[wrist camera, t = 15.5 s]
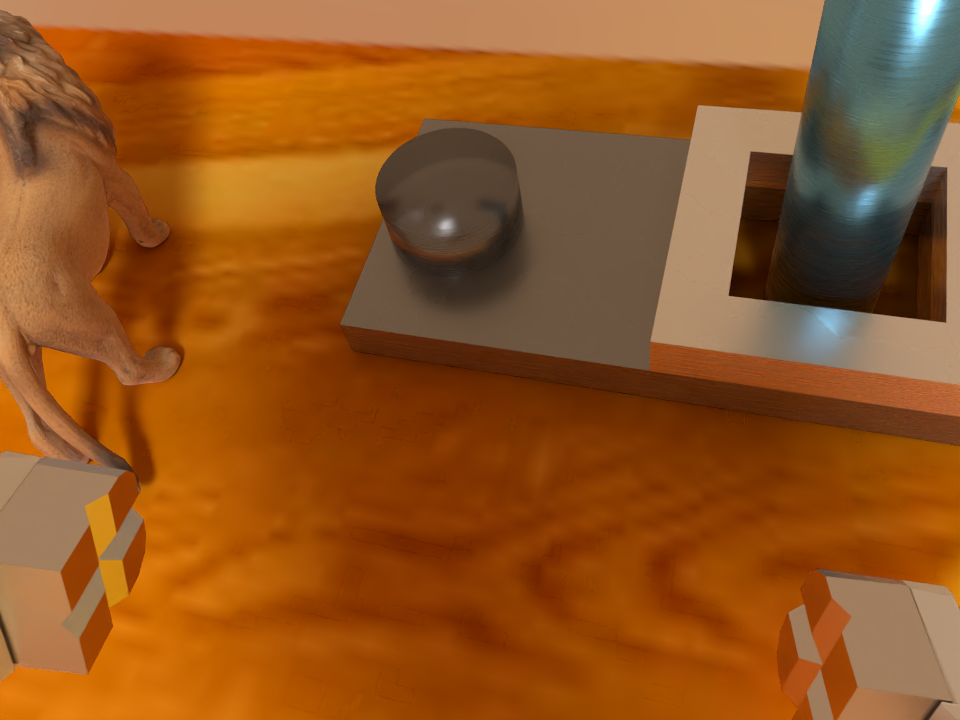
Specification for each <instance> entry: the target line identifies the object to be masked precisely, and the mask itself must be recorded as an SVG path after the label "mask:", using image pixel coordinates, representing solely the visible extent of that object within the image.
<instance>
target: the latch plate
mask: <svg viewBox="0 0 960 720" xmlns="http://www.w3.org/2000/svg"><path fill="white" fill-rule="evenodd" d="M801 113H802V112H789V111H774V110H760V109H746V108H731V107H717V106H703V105H698V107H697V112H696V117H695V122H694V127H693V132H692V137H691V140H686V139H674V138H661V137H649V136H636V135H624V134H611V133H599V132H586V131H574V130H561V129H549V128H536V127H524V126H511V125H498V124H486V123H473V122H461V121H448V120H436V119H424V121H423V124H422V126H421V128H420V131H419V133H418V136H417V137H415V138H413V139H411V140H410V141H408V142H406V143H405V144H403V145H402V146H400V147H399V148H398V149H397V150H396V151H394V152H393V153H392V154H391V155H390V157H389V158H388V159H387V160H386V162H385V163H384V164H383V166H382V168H381V170H380V172H379V174H378V177H377V181H376V199H377V202H378V205H379V208H380V210H381V213H382V216H383V221H382V223H381V226H380V228H379V231H378V233H377V236H376V238H375V241H374V243H373V245H372V248H371V250H370V253H369V255H368V258H367V260H366V262H365V265H364V267H363V270H362V272H361V275H360V277H359V280H358V282H357V284H356V287H355V289H354V292H353V294H352V297H351V299H350V301H349V304H348V306H347V309H346V311H345V314H344V316H343V318H342V321H341V323H340V326H341V328H342V330H343V332H344V334H345V336H346V338H347V340H348V342H349V344H350V346H351V348H352V350H353V351H358V352H364V353H371V354H377V355H384V356H390V357H396V358H403V359H409V360H416V361H422V362H428V363H435V364H441V365H448V366H454V367H460V368H467V369H473V370H479V371H486V372H492V373H499V374H505V375H511V376H518V377H524V378H531V379H537V380H543V381H550V382H556V383H563V384H569V385H575V386H582V387H588V388H595V389H601V390H607V391H614V392H620V393H627V394H633V395H639V396H646V397H652V398H658V399H665V400H671V401H678V402H684V403H690V404H697V405H703V406H710V407H716V408H722V409H729V410H735V411H742V412H748V413H754V414H761V415H767V416H774V417H780V418H786V419H793V420H799V421H806V422H812V423H818V424H825V425H831V426H838V427H844V428H850V429H857V430H863V431H869V432H876V433H882V434H889V435H895V436H901V437H908V438H914V439H921V440H927V441H933V442H940V443H946V444H953V445H959V446H960V123H948V124H947V127H946V129H945V132H944V134H943V137H942V139H941V142H940V144H939V147H938V150H937V152H936V155H935V157H934V160H933V162H932V165H931V167H930V170H929V172H928V175H927V177H926V180H925V182H924V185H923V187H922V190H921V193H920V195H919V198H918V200H917V203H916V205H915V208H914V210H913V213H912V215H911V218H910V220H909V223H908V225H907V228H906V230H905V233H904V234H908V235H918V236H919V251H918V290H917V319H911V318H903V317H895V316H887V315H879V314H871V313H863V312H855V311H847V310H839V309H831V308H823V307H815V306H806V305H798V304H790V303H782V302H774V301H766V300H758V299H750V298H742V297H734V296H729V290H730V283H731V277H732V270H733V264H734V257H735V251H736V244H737V238H738V231H739V225H740V218H750V219H760V220H770V221H779V220H780V215H781V210H782V205H783V200H784V195H785V191H786V186H787V181H788V176H789V171H790V166H791V162H792V157H793V152H794V147H795V142H796V137H797V133H798V128H799V123H800V118H801Z"/></svg>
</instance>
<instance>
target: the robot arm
mask: <svg viewBox="0 0 960 720" xmlns="http://www.w3.org/2000/svg"><path fill="white" fill-rule="evenodd" d="M138 495H139V490H138V486H137V481H136V477H135V474H134V473H132V472H129V471H127V470H121V469H115V468H109V467H103V466H97V465H91V464H85V463H80V462H74V461H68V460H62V459H56V458H50V457H40V456H34V455H28V454H22V453H16V452H10V451H5V452H3V453H1V454H0V681H2V680H3V679H4V678H5V677H7V676H8V675H9V674H11V673H12V672H13V671H14V670H15V668H14V666H21V667H29V668H38V669H46V670H55V671H63V672H72V673H80V674H88V673H89V671H90V670H91V668H92V666H93V664H94V662H95V660H96V658H97V656H98V654H99V652H100V650H101V648H102V646H103V645H104V643H105V641H106V639H107V637H108V635H109V633H110V631H111V629H112V627H113V624H112V619H111V615H110V610H109V608H110V607H112V606H113V605H115V604H116V603H118V602H119V601H121V600H122V599H124V598H125V597H127V596H128V595H129V594H130V592H131V590H132V588H133V586H134V584H135V582H136V580H137V577H138V575H139V572H140V568H141V565H142V561H143V557H144V554H145V542H146V531H145V525H144V519H143V518H142V517H141V516H140V515H139V514H138V513H137V512H136V511H135V510H134V509H133V508H132V505H133V504H134V502H135V500H136V498H137V496H138ZM801 593H802V597H803V601H804V604H803V605H801V606H799V607H797V608H796V609H794V610H792V611H790V612H788V614H787V617H786V619H785V621H784V623H783V626H782V628H781V630H780V636H779V643H778V650H777V660H778V673H779V678H780V683H781V689H782V691H783V692H784V693H785V694H786V695H787V696H788V698H789V699H790V700H791V701H792V702H793V703H794V705H795V706H796V707H797V708H798V709H797V711H796V713H795V714H794V716H793V718H792V720H960V609H959V607H958V605H957V602H956V600H955V598H954V596H953V594H952V593H951V592H950V591H949V590H948V589H947V588H946V587H945V586H940V585H933V584H926V583H918V582H911V581H904V580H900V581H898V580H896V579H891V578H884V577H876V576H868V575H861V574H853V573H846V572H838V571H831V570H823V569H815V570H813V571H812V572H811V573H809V574H808V575H807V577H806V579H805V581H804V583H803V585H802V587H801Z"/></svg>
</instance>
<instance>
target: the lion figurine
mask: <svg viewBox="0 0 960 720" xmlns="http://www.w3.org/2000/svg"><path fill="white" fill-rule="evenodd" d="M115 134H116V132H115V129H114V126H113V124H112V122H111V121H110V119H109V118H108V117H107V116H106V115H105V114H104V113H103V111H102V110H101V106H100V102H99V100H98V99H97V97H96V96H95V94H94V93H93V92H92V91H91V89H89V88H88V87H87V86H86V85H85V84H84V83H83V82H82V81H81V79H80V77H79V75H78V74H77V73H76V72H75V71H74V70H73V69H71V68H70V67H69V66H67V65H66V64H65V62H64V59H63V58H62V56H61V55H60V54H59V53H57V52H56V51H55V50H54V49H53V48H52V47H51V46H50V45H49V44H48V43H47V42H45V41H44V39H43V37H42V36H41V34H40V33H39V32H37V31H36V30H35V29H34V28H33V27H32V25H31V24H30V22H29V21H28V20H27V19H25V18H23V17H21V16H13V15H11V14H10V13H8V12H6V11H2V10H0V379H1V380H2V381H3V383H4V384H5V385H6V387H7V388H8V389H9V391H10V392H11V394H12V395H13V397H14V399H15V400H16V402H17V403H18V405H19V407H20V409H21V410H22V412H23V414H24V417H25V420H26V423H27V428H28V434H29V438H30V440H31V442H32V444H33V445H34V446H35V447H36V448H37V449H38V450H40V451H41V452H42V453H43V454H44V455H46V456H47V457H50V458H56V459H62V460H68V461H74V462H80V463H85V464H87V463H88V461H89V460H90V459H92V460H93V461H95V462H96V463H98V464H99V465H101V466H103V467H109V468H115V469H121V470H127V471H129V472H132V473H134V471H133V469H132V468H131V467H130V465H129V464H128V463H127V462H126V461H125V459H123V458H122V457H120V456H118V455H117V454H115V453H113V452H112V451H110V450H109V449H108V448H106V447H105V446H103V445H102V444H101V443H99V442H98V441H97V440H95V439H94V438H93V437H92V436H90V435H89V434H88V433H87V432H85V431H84V430H83V429H82V428H81V427H80V426H79V425H78V424H77V423H76V422H75V421H74V420H73V419H72V418H71V417H70V416H69V415H68V414H67V413H66V412H65V411H64V410H63V409H62V408H61V406H60V405H59V404H58V403H57V401H56V400H55V399H54V397H53V396H52V395H51V394H50V393H49V392H48V390H47V388H46V381H45V375H44V368H43V362H42V348H41V346H42V347H48V348H51V349H55V350H59V351H62V352H68V353H71V354H75V355H79V356H82V357H87V358H91V359H95V360H99V361H102V362H104V363H105V364H107V365H108V366H109V367H110V368H111V369H112V370H113V371H114V372H115V374H116V375H117V377H118V379H119V381H120V382H121V383H122V384H124V385H137V384H144V383H154V382H161V381H164V380H167V379H169V378H170V377H171V376H172V375H173V374H174V373H175V372H176V371H177V369H178V367H179V365H180V361H181V357H180V355H179V354H178V353H177V352H176V351H175V350H174V349H173V348H171V347H162V346H160V347H156V348H153V349H151V350H149V351H147V353H146V354H145V357H144V358H143V357H141V356H140V355H139V354H138V353H137V352H136V351H135V349H134V348H133V346H132V344H131V342H130V340H129V338H128V336H127V334H126V332H125V330H124V328H123V326H122V324H121V322H120V320H119V318H118V317H117V315H116V313H115V311H114V310H113V308H112V307H111V306H110V305H109V304H108V303H107V302H105V301H104V300H103V299H102V298H101V297H100V296H99V294H98V293H97V292H96V290H95V289H94V287H93V286H92V285H91V284H90V283H91V282H92V280H93V279H94V277H95V276H96V274H98V273H99V272H100V271H101V269H102V266H103V264H104V262H105V260H106V256H107V252H108V248H109V240H110V223H109V216H108V207H107V205H109V206H110V207H111V208H113V209H114V210H115V211H116V212H117V213H118V214H119V215H120V216H121V217H122V219H123V220H124V222H125V224H126V225H127V227H128V230H129V232H130V235H131V237H132V238H134V239H135V240H136V242H138V243H139V244H140V245H141V246H145V247H155V246H158V245H159V244H160V243H162V242H163V241H164V240H165V239H166V238H167V237H168V236H169V234H170V227H169V225H168V224H167V223H165V222H163V221H162V220H159V219H152V218H150V216H149V214H148V211H147V208H146V206H145V204H144V202H143V201H142V198H141V196H140V193H139V191H138V188H137V186H136V184H135V183H134V181H133V180H132V178H131V177H130V176H129V174H128V173H126V172H125V171H124V170H123V169H121V168H120V167H119V165H118V164H117V161H116V159H115V155H116V153H117V150H116V146H115ZM134 474H135V473H134ZM135 477H136V481H137V486H138V490H139V493H140V491H141V488H140V486H139V480H138V477H137V475H136V474H135Z"/></svg>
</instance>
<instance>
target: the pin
mask: <svg viewBox="0 0 960 720" xmlns="http://www.w3.org/2000/svg"><path fill="white" fill-rule="evenodd" d="M959 94H960V0H825V2H824V7H823V12H822V17H821V22H820V26H819V31H818V36H817V41H816V46H815V50H814V55H813V60H812V65H811V70H810V75H809V79H808V84H807V89H806V94H805V99H804V104H803V108H802V113H801V118H800V123H799V128H798V133H797V137H796V142H795V147H794V152H793V157H792V162H791V166H790V171H789V176H788V181H787V186H786V191H785V195H784V200H783V205H782V210H781V215H780V220H779V224H778V229H777V234H776V239H775V244H774V248H773V253H772V258H771V263H770V268H769V273H768V277H767V282H766V288H765V297H766V301H774V302H782V303H790V304H798V305H806V306H815V307H823V308H831V309H839V310H847V311H855V312H863V313H871V314H873V311H874V309H875V306H876V304H877V301H878V299H879V296H880V294H881V291H882V289H883V286H884V284H885V281H886V279H887V276H888V273H889V271H890V268H891V266H892V263H893V261H894V258H895V256H896V253H897V251H898V248H899V246H900V243H901V241H902V238H903V236H904V233H905V230H906V228H907V225H908V223H909V220H910V218H911V215H912V213H913V210H914V208H915V205H916V203H917V200H918V198H919V195H920V193H921V190H922V187H923V185H924V182H925V180H926V177H927V175H928V172H929V170H930V167H931V165H932V162H933V160H934V157H935V155H936V152H937V150H938V147H939V144H940V142H941V139H942V137H943V134H944V132H945V129H946V127H947V124H948V122H949V119H950V117H951V114H952V112H953V109H954V107H955V104H956V101H957V99H958V96H959Z"/></svg>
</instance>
